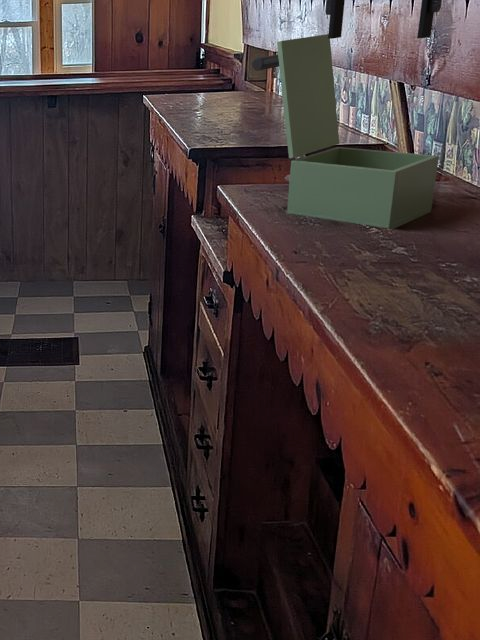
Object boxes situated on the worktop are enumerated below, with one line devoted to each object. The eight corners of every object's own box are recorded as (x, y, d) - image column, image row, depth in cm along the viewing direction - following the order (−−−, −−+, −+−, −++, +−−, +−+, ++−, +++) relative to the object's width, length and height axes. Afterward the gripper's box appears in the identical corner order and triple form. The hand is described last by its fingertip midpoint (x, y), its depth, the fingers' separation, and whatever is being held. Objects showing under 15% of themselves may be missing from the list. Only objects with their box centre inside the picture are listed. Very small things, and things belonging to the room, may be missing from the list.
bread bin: (431, 212, 138) (439, 155, 134) (388, 231, 129) (396, 171, 125) (332, 198, 149) (337, 146, 146) (286, 216, 140) (290, 160, 137)
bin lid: (329, 33, 141) (284, 44, 147) (281, 40, 132) (234, 51, 138) (339, 143, 146) (294, 149, 152) (293, 157, 136) (247, 163, 143)
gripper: (501, -136, 114) (475, 35, 122) (325, -113, 131) (313, 36, 140) (479, -139, 109) (454, 39, 118) (299, -114, 127) (288, 39, 135)
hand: (377, 38), depth 129 cm, fingers open, 13 cm apart
